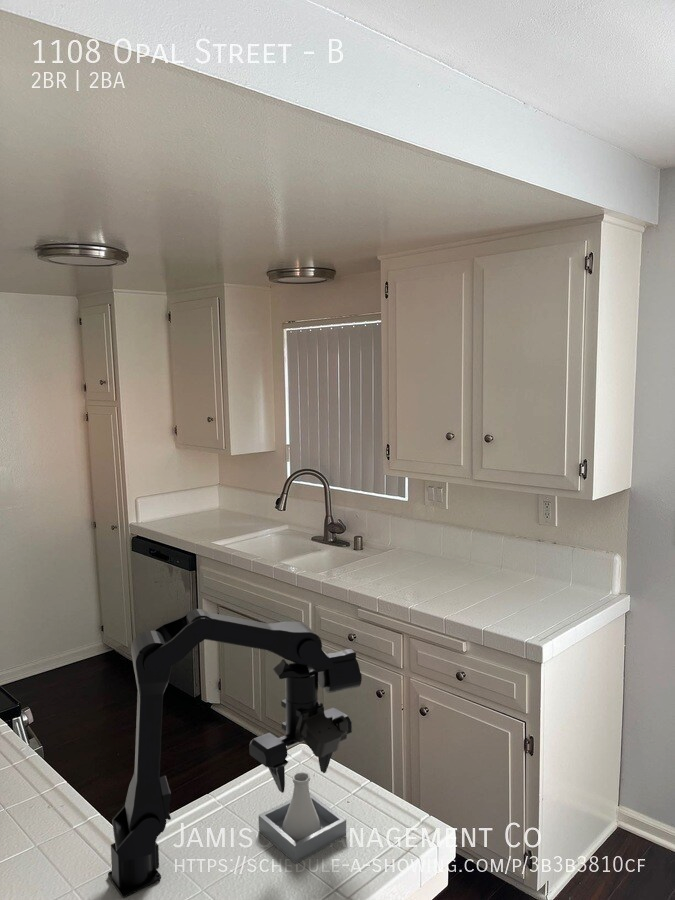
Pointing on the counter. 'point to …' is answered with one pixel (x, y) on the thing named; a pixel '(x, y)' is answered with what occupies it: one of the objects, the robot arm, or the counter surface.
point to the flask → (301, 810)
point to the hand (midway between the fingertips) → (302, 781)
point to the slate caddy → (297, 851)
